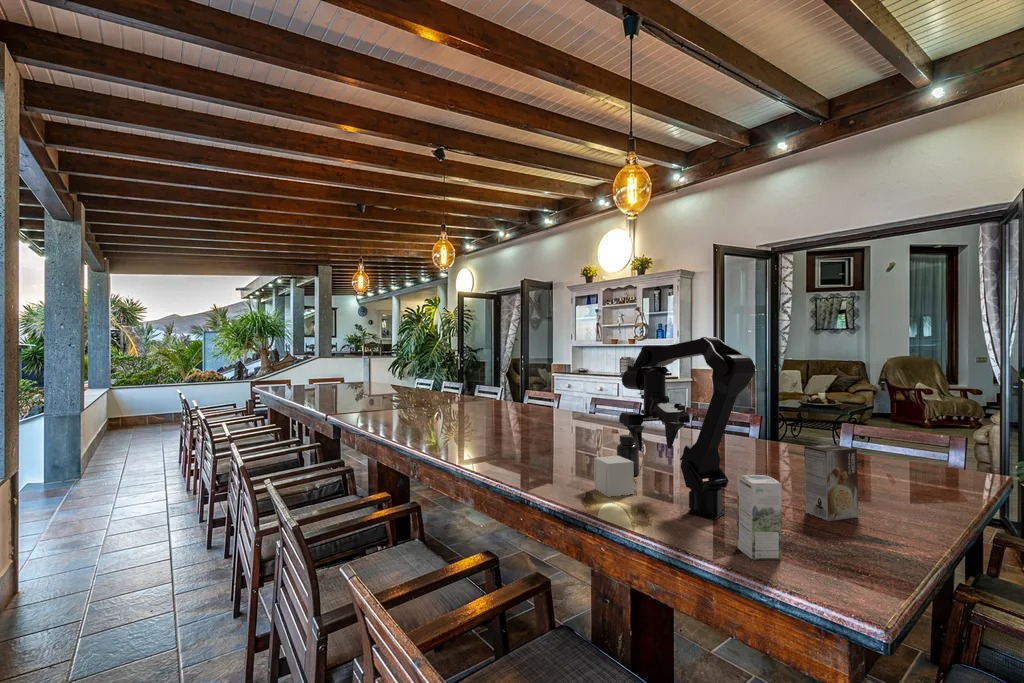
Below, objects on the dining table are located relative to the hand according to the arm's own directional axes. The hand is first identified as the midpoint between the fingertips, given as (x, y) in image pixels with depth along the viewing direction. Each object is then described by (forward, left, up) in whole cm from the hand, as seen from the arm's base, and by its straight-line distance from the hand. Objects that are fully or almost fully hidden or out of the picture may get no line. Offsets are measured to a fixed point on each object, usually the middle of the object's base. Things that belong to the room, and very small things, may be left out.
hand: (654, 449), depth 130 cm
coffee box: (-38, -13, -12) cm, 42 cm away
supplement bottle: (+16, -14, -12) cm, 24 cm away
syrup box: (-32, +22, -12) cm, 41 cm away
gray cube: (+9, +6, -12) cm, 16 cm away
